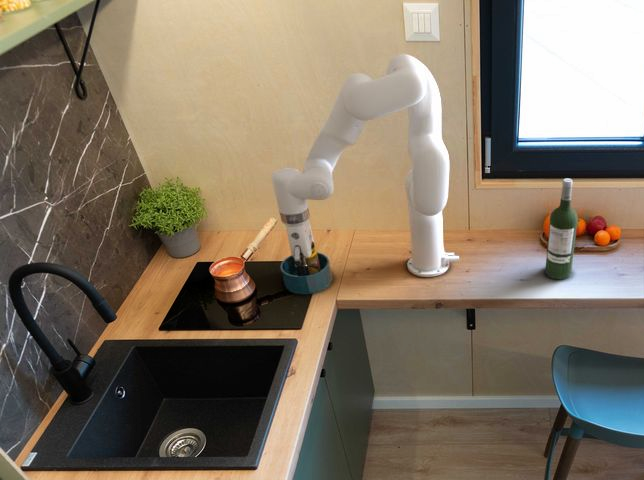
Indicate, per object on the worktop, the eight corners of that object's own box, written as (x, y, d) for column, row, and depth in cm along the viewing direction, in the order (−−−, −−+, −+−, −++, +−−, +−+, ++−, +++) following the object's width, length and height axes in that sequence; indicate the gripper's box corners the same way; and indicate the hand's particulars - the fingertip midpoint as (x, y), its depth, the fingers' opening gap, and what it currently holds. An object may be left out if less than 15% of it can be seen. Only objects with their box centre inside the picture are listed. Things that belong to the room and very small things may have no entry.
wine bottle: (545, 279, 178) (553, 186, 159) (544, 265, 185) (552, 173, 166) (571, 280, 178) (583, 187, 159) (570, 266, 184) (581, 174, 166)
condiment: (327, 281, 173) (320, 245, 166) (298, 290, 169) (290, 254, 162) (317, 269, 178) (311, 234, 170) (289, 278, 174) (281, 242, 167)
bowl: (334, 267, 180) (331, 250, 176) (330, 293, 170) (326, 275, 166) (288, 269, 179) (284, 252, 175) (281, 295, 168) (277, 277, 165)
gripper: (305, 229, 154) (316, 284, 165) (312, 199, 168) (322, 251, 178) (275, 231, 154) (288, 285, 164) (285, 200, 167) (296, 252, 178)
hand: (306, 268), depth 171 cm, fingers open, 9 cm apart
